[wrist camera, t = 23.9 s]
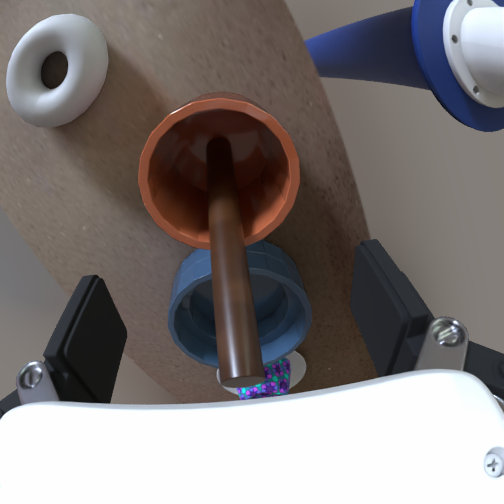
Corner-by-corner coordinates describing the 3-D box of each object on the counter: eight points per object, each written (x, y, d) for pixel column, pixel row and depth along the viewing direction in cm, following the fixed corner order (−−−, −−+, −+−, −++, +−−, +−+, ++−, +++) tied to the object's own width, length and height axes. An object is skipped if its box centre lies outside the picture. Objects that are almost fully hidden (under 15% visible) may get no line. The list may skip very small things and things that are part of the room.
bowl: (298, 225, 29) (312, 257, 25) (300, 324, 36) (310, 360, 32) (160, 244, 29) (149, 278, 25) (190, 338, 36) (188, 375, 32)
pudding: (254, 401, 45) (257, 429, 40) (198, 368, 39) (197, 401, 35) (320, 367, 42) (329, 397, 37) (270, 326, 36) (276, 360, 32)
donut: (118, 7, 17) (21, 30, 16) (105, -1, 14) (0, 29, 13) (114, 118, 23) (21, 130, 21) (100, 124, 20) (1, 139, 18)
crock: (270, 85, 22) (294, 90, 15) (280, 189, 27) (302, 240, 20) (156, 102, 22) (123, 117, 15) (176, 204, 27) (159, 259, 20)
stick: (233, 139, 24) (272, 375, 13) (227, 159, 25) (257, 387, 14) (209, 135, 23) (226, 376, 12) (203, 156, 25) (216, 388, 13)
